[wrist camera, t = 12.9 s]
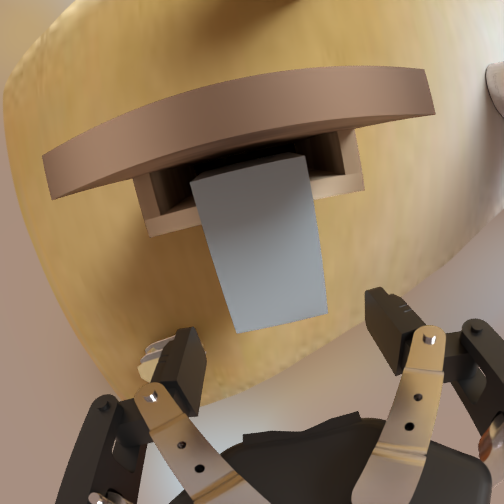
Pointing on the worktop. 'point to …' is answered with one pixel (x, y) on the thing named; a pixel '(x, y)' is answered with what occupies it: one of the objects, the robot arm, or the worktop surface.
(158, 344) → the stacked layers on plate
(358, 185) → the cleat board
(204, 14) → the worktop surface
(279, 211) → the blue-grey block
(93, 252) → the worktop surface
